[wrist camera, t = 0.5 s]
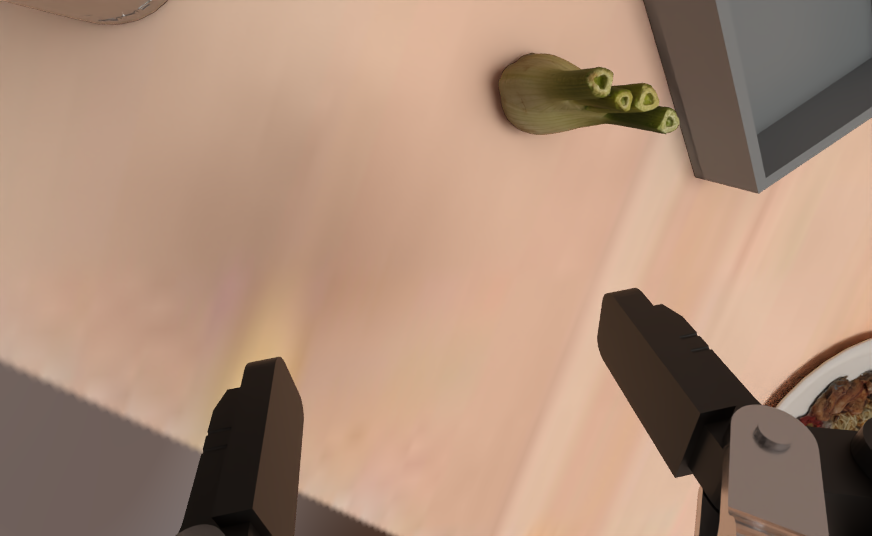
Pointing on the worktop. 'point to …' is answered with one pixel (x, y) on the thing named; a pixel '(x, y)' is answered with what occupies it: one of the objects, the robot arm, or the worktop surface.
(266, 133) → the worktop surface
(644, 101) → the fennel bulb
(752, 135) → the bin
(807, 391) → the plated food
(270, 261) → the worktop surface
